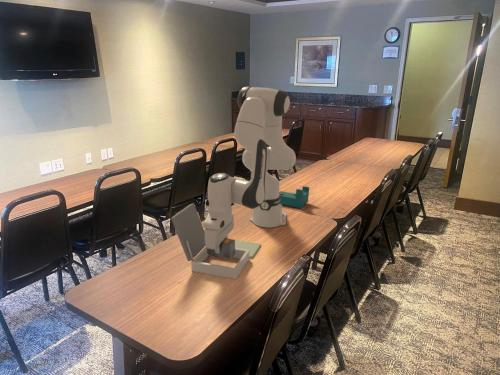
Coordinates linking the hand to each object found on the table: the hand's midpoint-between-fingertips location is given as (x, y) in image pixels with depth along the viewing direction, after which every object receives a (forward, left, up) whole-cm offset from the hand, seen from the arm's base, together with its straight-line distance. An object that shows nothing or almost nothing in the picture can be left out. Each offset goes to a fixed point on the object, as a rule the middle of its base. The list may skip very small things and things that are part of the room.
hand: (220, 248), depth 139 cm
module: (0, 0, -2) cm, 2 cm away
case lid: (0, -12, +6) cm, 13 cm away
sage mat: (-15, 0, -7) cm, 16 cm away
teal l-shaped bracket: (-79, +11, -7) cm, 80 cm away
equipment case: (0, -1, -7) cm, 7 cm away
